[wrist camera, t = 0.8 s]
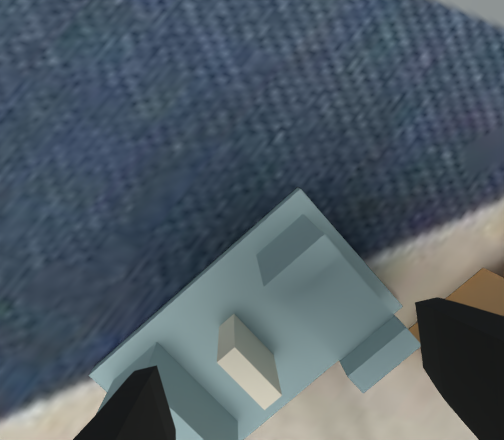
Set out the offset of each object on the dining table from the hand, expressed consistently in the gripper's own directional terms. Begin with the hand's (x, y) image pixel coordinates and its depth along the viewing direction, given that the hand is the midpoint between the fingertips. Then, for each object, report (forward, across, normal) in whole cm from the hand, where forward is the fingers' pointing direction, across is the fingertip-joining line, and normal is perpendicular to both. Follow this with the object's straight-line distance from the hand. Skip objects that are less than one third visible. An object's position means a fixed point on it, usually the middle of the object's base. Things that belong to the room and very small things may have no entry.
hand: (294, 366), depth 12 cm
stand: (+10, +1, +4) cm, 11 cm away
